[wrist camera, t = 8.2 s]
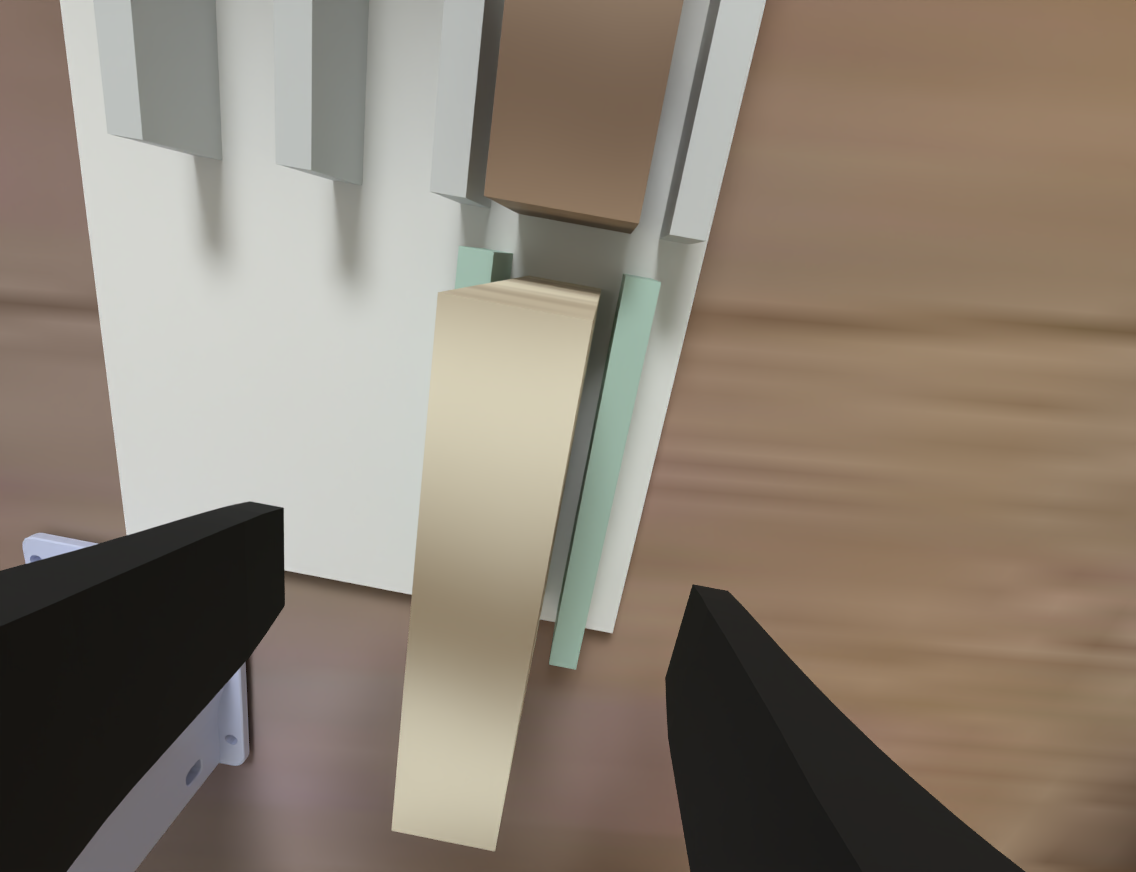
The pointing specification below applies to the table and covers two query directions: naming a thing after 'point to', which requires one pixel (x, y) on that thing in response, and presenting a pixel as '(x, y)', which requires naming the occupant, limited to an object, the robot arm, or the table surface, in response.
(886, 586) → the table surface
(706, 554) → the table surface
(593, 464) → the rack
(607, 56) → the walnut offcut
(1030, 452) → the table surface
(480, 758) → the birch sheet
